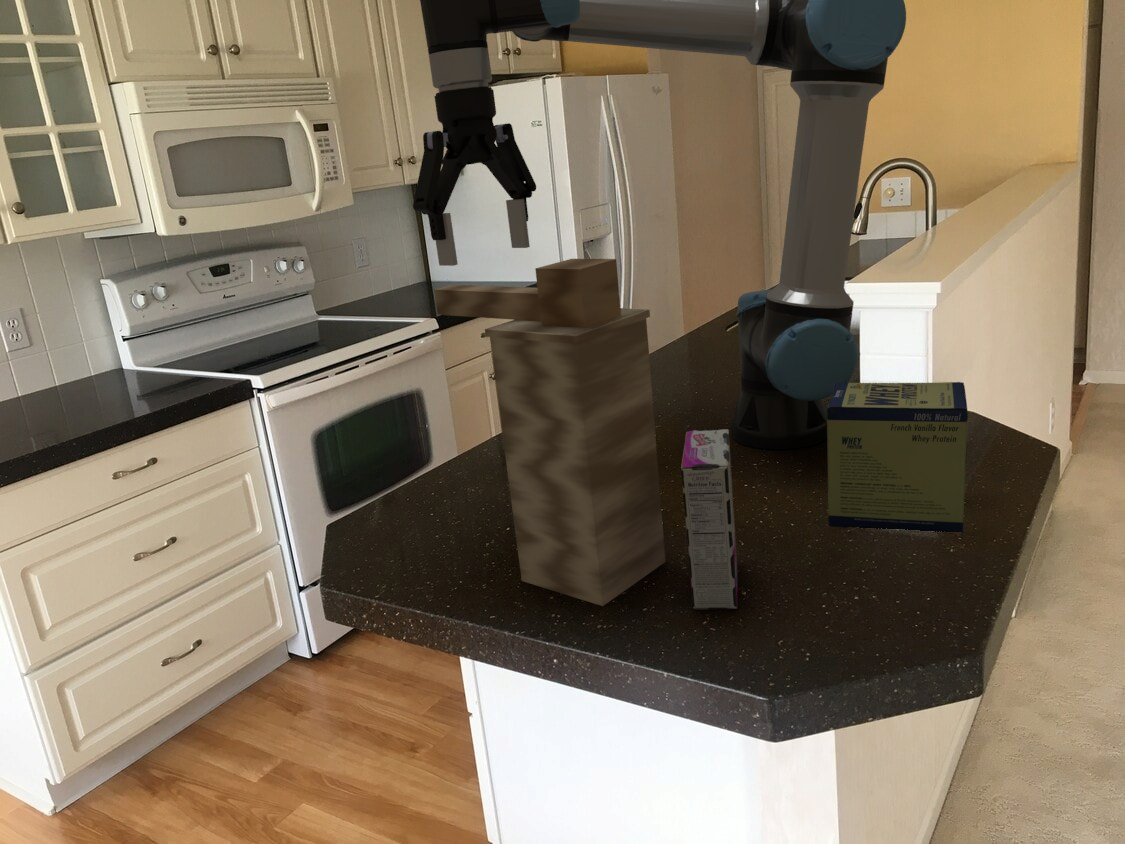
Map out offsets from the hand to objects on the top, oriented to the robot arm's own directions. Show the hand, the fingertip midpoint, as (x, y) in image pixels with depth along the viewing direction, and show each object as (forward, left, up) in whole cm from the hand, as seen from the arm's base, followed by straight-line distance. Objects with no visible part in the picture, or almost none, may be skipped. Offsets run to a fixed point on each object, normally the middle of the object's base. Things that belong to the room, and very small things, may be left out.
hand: (486, 256), depth 124 cm
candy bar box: (-28, +29, -35) cm, 53 cm away
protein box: (-50, +11, -35) cm, 62 cm away
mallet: (-8, +21, -4) cm, 23 cm away
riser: (-14, +25, -34) cm, 45 cm away
